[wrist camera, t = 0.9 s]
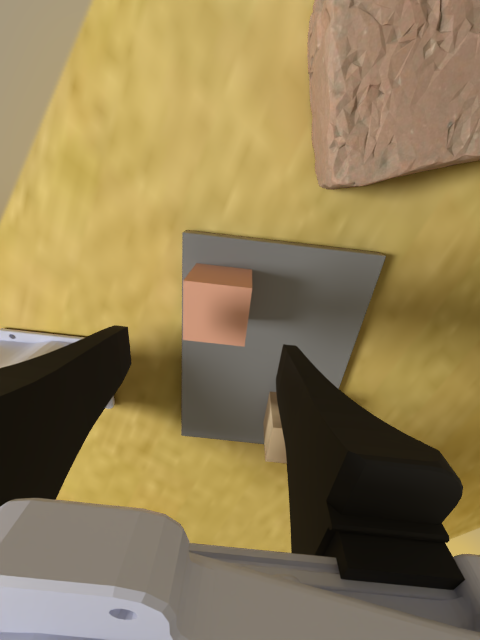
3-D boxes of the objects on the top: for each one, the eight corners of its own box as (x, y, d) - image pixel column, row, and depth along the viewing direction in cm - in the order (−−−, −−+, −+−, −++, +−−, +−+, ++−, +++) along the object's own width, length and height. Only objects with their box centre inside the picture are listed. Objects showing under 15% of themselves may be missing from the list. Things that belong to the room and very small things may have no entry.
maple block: (263, 422, 25) (265, 461, 22) (269, 391, 23) (273, 427, 20) (303, 427, 25) (312, 466, 22) (313, 396, 24) (324, 433, 20)
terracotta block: (194, 313, 20) (182, 339, 17) (196, 263, 18) (183, 280, 15) (245, 319, 20) (244, 346, 17) (252, 269, 19) (252, 288, 15)
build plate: (184, 425, 28) (181, 435, 27) (186, 230, 19) (182, 232, 18) (314, 439, 28) (316, 449, 27) (378, 252, 19) (386, 255, 18)
